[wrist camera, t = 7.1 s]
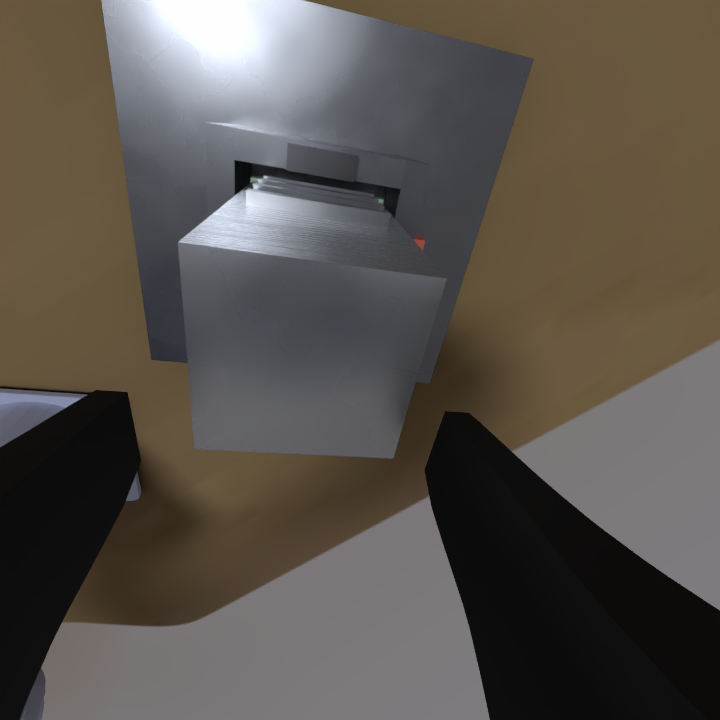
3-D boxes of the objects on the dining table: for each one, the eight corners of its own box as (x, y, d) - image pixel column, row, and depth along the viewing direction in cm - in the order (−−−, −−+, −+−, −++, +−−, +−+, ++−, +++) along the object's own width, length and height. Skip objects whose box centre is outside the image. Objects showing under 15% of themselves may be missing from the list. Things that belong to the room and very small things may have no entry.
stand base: (159, 349, 19) (113, 412, 14) (110, -39, 12) (-6, -133, 7) (425, 373, 21) (451, 433, 17) (520, 63, 14) (607, 35, 10)
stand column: (251, 296, 14) (190, 451, 7) (254, 167, 12) (169, 219, 5) (360, 308, 15) (396, 461, 8) (381, 189, 13) (456, 261, 6)
